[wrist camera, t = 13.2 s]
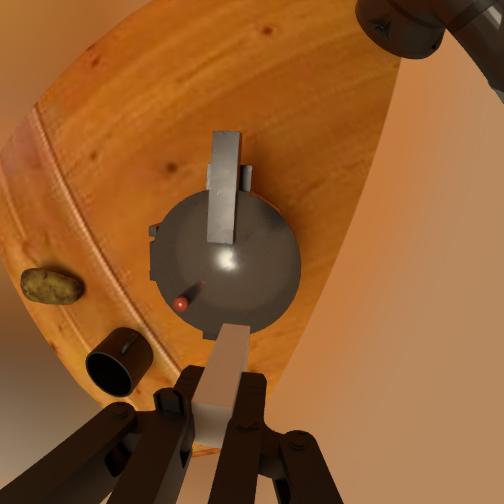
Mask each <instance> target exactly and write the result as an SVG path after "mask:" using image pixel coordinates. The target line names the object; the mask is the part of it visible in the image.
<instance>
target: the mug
mask: <svg viewBox="0 0 504 504" xmlns="http://www.w3.org/2000/svg"><path fill="white" fill-rule="evenodd" d="M152 360H153V355H152V350H151V348H150V345H149V344H148V342H147V341H146V340H145V339H144V338H143V337H142V336H141V335H140V334H139V333H137V332H136V331H134V330H131V329H128V328H118V329H116V330H114V331H113V332H112V333H110V334H109V335H108V336H107V337H106V338H105V339H104V340H103V341H102V342H101V343H100V344H99V345H98V346H97V347H96V348H95V349H94V350H92V351H91V352H90V353H89V354H88V356H87V358H86V369H87V372H88V374H89V376H90V378H91V379H92V381H93V382H94V383H95V384H96V385H97V386H98V387H99V388H100V389H101V390H103V391H104V392H106V393H107V394H109V395H112V396H115V397H126V396H129V395H130V394H131V393H132V392H133V390H134V389H135V387H136V386H137V384H138V383H139V382H140V380H141V379H142V377H143V376H144V374H145V373H146V371H147V370H148V368H149V367H150V366H151V364H152Z"/></svg>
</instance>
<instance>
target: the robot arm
mask: <svg viewBox="0 0 504 504" xmlns="http://www.w3.org/2000/svg"><path fill="white" fill-rule="evenodd" d="M356 16H357V19H358V22H359V24H360V25H361V27H362V28H363V30H364V31H365V32H366V34H367V35H368V36H369V37H370V38H371V39H372V40H373V41H374V42H376V43H377V44H378V45H379V46H381V47H382V48H384V49H385V50H387V51H389V52H391V53H393V54H395V55H398V56H400V57H403V58H408V59H423V58H426V57H428V56H430V55H431V54H433V53H434V52H435V51H436V50H437V49H438V48H439V46H440V44H441V42H442V39H443V36H444V32H445V29H446V28H447V30H448V31H449V32H450V33H451V34H452V35H453V36H454V37H455V39H456V40H457V41H458V42H459V43H460V45H461V46H462V47H463V48H464V49H465V51H466V52H467V53H468V54H469V56H470V57H471V58H472V59H473V61H474V62H475V63H476V65H477V66H478V67H479V69H480V70H481V72H482V73H483V74H484V76H485V77H486V79H487V80H488V83H489V85H490V87H491V88H492V89H493V90H494V91H495V92H496V93H497V95H498V96H499V98H500V99H501V101H502V102H503V104H504V0H358V1H357V4H356ZM249 337H250V326H244V325H235V324H226V323H223V325H222V328H221V330H220V333H219V335H218V338H217V340H216V342H215V345H214V347H213V350H212V352H211V355H210V357H209V359H208V362H207V364H206V367H200V366H194V365H189V366H188V367H186V368H185V369H184V370H182V372H181V374H180V376H179V378H178V380H177V382H176V384H175V386H174V388H162V389H160V390H158V391H156V392H155V393H154V394H153V397H154V402H155V408H156V410H154V411H135V409H134V407H133V406H132V405H130V404H129V403H126V402H114V403H111V404H110V405H108V406H107V407H105V408H104V409H103V410H102V411H101V412H99V413H98V414H97V415H96V416H94V417H93V418H92V419H91V420H90V421H88V422H87V423H86V424H84V425H83V426H82V427H81V428H80V429H78V430H77V431H76V432H75V433H73V434H72V435H71V436H70V437H68V438H67V439H66V440H65V441H63V442H62V443H61V444H59V445H58V446H57V447H56V448H54V449H53V450H52V451H51V452H49V453H48V454H47V455H46V456H44V457H43V458H42V459H40V460H39V461H38V462H37V463H35V464H34V465H33V466H31V467H30V468H29V469H27V470H26V471H25V472H23V473H22V474H21V475H20V476H18V477H17V478H15V479H14V480H13V481H12V482H10V483H9V484H8V485H6V486H5V487H3V488H2V489H1V490H0V504H100V503H101V502H102V501H103V499H105V498H106V497H107V496H108V495H109V493H110V492H112V493H111V495H110V497H109V499H108V501H107V503H106V504H176V501H177V498H178V495H179V492H180V489H181V486H182V483H183V480H184V477H185V474H186V471H187V468H188V465H189V462H190V459H191V456H192V450H193V449H192V444H193V441H194V438H195V444H197V445H203V446H208V447H214V448H221V452H220V456H219V461H218V465H217V469H216V473H215V477H214V481H213V485H212V488H211V492H210V497H209V501H208V504H254V501H255V493H256V486H257V477H258V474H260V475H263V476H266V477H269V478H272V481H273V485H274V489H275V493H276V496H277V500H278V504H344V503H343V501H342V499H341V497H340V494H339V492H338V490H337V488H336V485H335V483H334V481H333V478H332V476H331V474H330V472H329V469H328V467H327V465H326V462H325V460H324V458H323V455H322V453H321V451H320V449H319V446H318V444H317V441H316V440H315V438H314V437H313V436H312V435H311V434H309V433H308V432H305V431H300V430H293V431H290V432H287V433H286V434H281V433H278V432H275V431H273V430H271V429H270V428H268V427H267V425H266V424H265V422H264V408H265V397H266V386H267V380H266V378H265V376H264V375H263V374H259V373H250V372H246V370H247V364H248V351H249Z"/></svg>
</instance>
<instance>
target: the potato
mask: <svg viewBox="0 0 504 504" xmlns="http://www.w3.org/2000/svg"><path fill="white" fill-rule="evenodd" d="M20 285H21V288H22V291H23V294H24V295H25V297H26V298H27V299H29V300H31V301H33V302H39V303H44V304H55V305H69V304H72V303H74V302H75V301H77V300H78V299H79V298H80V297H81V295H82V287H81V285H80V284H79V283H78V281H76V280H75V279H74V278H72V277H66V276H64V275H63V274H61V273H58V272H54V271H50V270H46V269H41V268H31V269H27V270H25V271H24V272H23V273H22V275H21V282H20Z"/></svg>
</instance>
